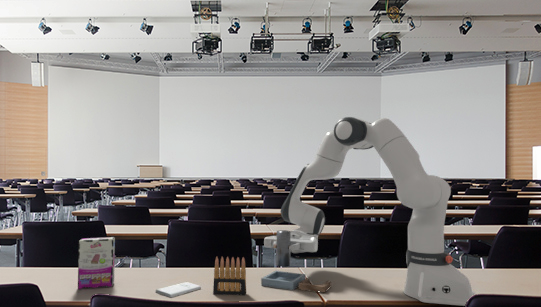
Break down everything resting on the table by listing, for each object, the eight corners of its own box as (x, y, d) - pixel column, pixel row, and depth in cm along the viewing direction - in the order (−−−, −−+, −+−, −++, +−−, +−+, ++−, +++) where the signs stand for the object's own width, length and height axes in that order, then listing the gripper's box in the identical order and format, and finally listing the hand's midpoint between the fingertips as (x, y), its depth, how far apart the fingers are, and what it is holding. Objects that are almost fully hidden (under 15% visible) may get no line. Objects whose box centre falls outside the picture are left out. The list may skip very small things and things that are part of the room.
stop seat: (330, 287, 133) (330, 281, 133) (324, 293, 126) (324, 287, 126) (306, 283, 136) (306, 278, 136) (298, 289, 130) (298, 283, 130)
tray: (305, 281, 140) (305, 274, 140) (293, 290, 129) (293, 282, 129) (275, 277, 145) (275, 270, 145) (261, 285, 134) (261, 278, 134)
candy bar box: (114, 283, 136) (115, 236, 137) (112, 287, 131) (113, 238, 132) (80, 285, 133) (81, 237, 134) (76, 289, 128) (78, 240, 129)
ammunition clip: (246, 293, 125) (246, 256, 126) (245, 295, 123) (245, 257, 124) (214, 292, 126) (214, 255, 126) (212, 294, 124) (213, 257, 125)
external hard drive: (155, 294, 126) (185, 285, 135) (170, 299, 120) (201, 290, 130) (155, 289, 126) (185, 281, 135) (170, 294, 120) (201, 285, 130)
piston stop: (292, 264, 139) (292, 231, 139) (286, 267, 134) (287, 232, 135) (279, 262, 141) (280, 229, 141) (274, 265, 136) (274, 231, 137)
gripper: (272, 230, 154) (256, 235, 142) (321, 235, 145) (309, 240, 133) (272, 246, 154) (256, 253, 141) (321, 251, 145) (308, 259, 132)
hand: (282, 247), depth 137 cm, fingers closed on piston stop, 5 cm apart
